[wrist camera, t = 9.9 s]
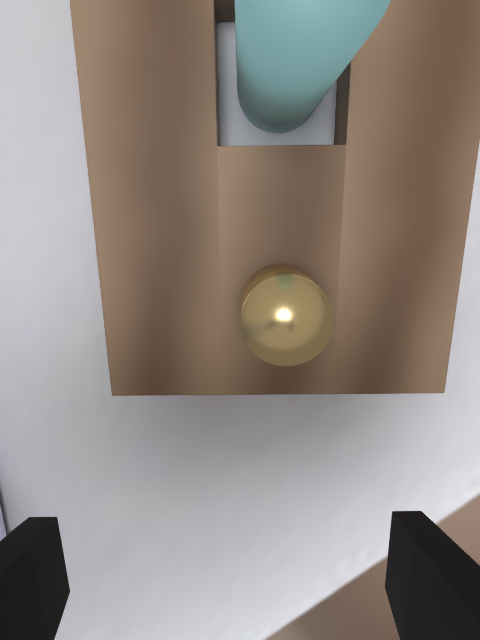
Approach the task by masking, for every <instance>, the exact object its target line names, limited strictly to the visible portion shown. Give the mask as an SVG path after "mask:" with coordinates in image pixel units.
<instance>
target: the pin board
mask: <svg viewBox="0 0 480 640" xmlns="http://www.w3.org/2000/svg"><path fill="white" fill-rule="evenodd" d="M70 8H71V17H72V27H73V36H74V45H75V55H76V64H77V73H78V83H79V92H80V101H81V111H82V120H83V129H84V139H85V148H86V157H87V167H88V176H89V185H90V195H91V204H92V213H93V223H94V232H95V241H96V251H97V260H98V269H99V279H100V288H101V298H102V307H103V316H104V326H105V335H106V344H107V354H108V363H109V372H110V382H111V391H112V396H130V395H259V394H388V393H444V390H445V383H446V376H447V369H448V362H449V354H450V347H451V340H452V333H453V326H454V319H455V312H456V305H457V297H458V290H459V283H460V276H461V269H462V262H463V255H464V248H465V240H466V233H467V226H468V219H469V212H470V205H471V198H472V191H473V183H474V176H475V169H476V162H477V155H478V148H479V141H480V0H391V1H390V4H389V6H388V8H387V10H386V12H385V14H384V16H383V17H382V19H381V20H380V22H379V23H378V25H377V26H376V28H375V29H374V30H373V32H372V33H371V34H370V36H369V37H368V38H367V40H366V41H365V42H364V44H363V45H362V47H361V48H360V49H359V51H358V52H357V53H356V55H355V56H354V57H353V59H352V60H351V61H350V63H349V64H348V65H347V67H346V68H345V69H344V71H343V72H342V73H341V75H340V76H339V77H338V79H337V97H336V118H335V138H334V145H291V146H220V131H219V86H218V42H217V22H224V21H235V0H70Z"/></svg>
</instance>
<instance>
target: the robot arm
mask: <svg viewBox="0 0 480 640" xmlns="http://www.w3.org/2000/svg"><path fill="white" fill-rule="evenodd" d="M385 589H386V592H387V596H388V599H389V603H390V607H391V610H392V614H393V617H394V620H395V624H396V627H397V630H398V634H399V637H400V640H480V566H479V565H478V564H477V563H476V562H475V561H474V560H473V559H472V558H471V557H470V556H469V555H468V554H466V553H465V552H464V551H463V550H462V549H461V548H460V547H459V546H458V545H457V544H456V543H455V542H454V541H453V540H452V539H451V538H449V537H448V536H447V535H446V534H445V533H444V532H443V531H442V530H441V529H440V528H439V527H438V526H437V525H436V524H435V523H434V522H432V521H431V520H430V519H429V518H428V517H427V516H426V515H425V514H424V513H423V512H422V511H392V520H391V530H390V540H389V550H388V560H387V570H386V581H385ZM69 593H70V589H69V583H68V577H67V571H66V566H65V560H64V554H63V548H62V543H61V537H60V531H59V525H58V520H57V517H29V518H28V519H26V520H25V521H24V522H23V523H21V524H20V525H19V526H18V527H16V528H15V529H14V530H13V531H12V532H10V533H9V534H8V535H6V530H5V526H4V521H3V516H2V511H1V506H0V640H54V638H55V636H56V633H57V630H58V627H59V624H60V621H61V618H62V615H63V612H64V609H65V605H66V602H67V599H68V596H69Z"/></svg>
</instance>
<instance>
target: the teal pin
mask: <svg viewBox="0 0 480 640" xmlns="http://www.w3.org/2000/svg"><path fill="white" fill-rule="evenodd" d="M390 1H391V0H235V26H236V60H237V91H238V99H239V102H240V106H241V108H242V110H243V112H244V114H245V115H246V117H247V118H248V119H249V120H250V121H251V122H252V123H253V124H254V125H255V126H257V127H258V128H260V129H262V130H264V131H267V132H271V133H283V132H288V131H291V130H293V129H295V128H297V127H299V126H300V125H301V124H303V123H304V122H305V121H306V120H307V119H308V117H309V116H310V115H311V114H312V112H313V111H314V110H315V108H316V107H317V106H318V104H319V103H320V102H321V100H322V99H323V98H324V96H325V95H326V93H327V92H328V91H329V89H330V88H331V87H332V85H333V84H334V83H335V81H336V80H337V79H338V77H339V76H340V75H341V73H342V72H343V71H344V69H345V68H346V67H347V65H348V64H349V63H350V61H351V60H352V59H353V57H354V56H355V55H356V53H357V52H358V51H359V49H360V48H361V47H362V45H363V44H364V42H365V41H366V40H367V38H368V37H369V36H370V34H371V33H372V32H373V30H374V29H375V28H376V26H377V25H378V23H379V22H380V20H381V19H382V17H383V16H384V14H385V12H386V10H387V8H388V6H389V4H390Z"/></svg>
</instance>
